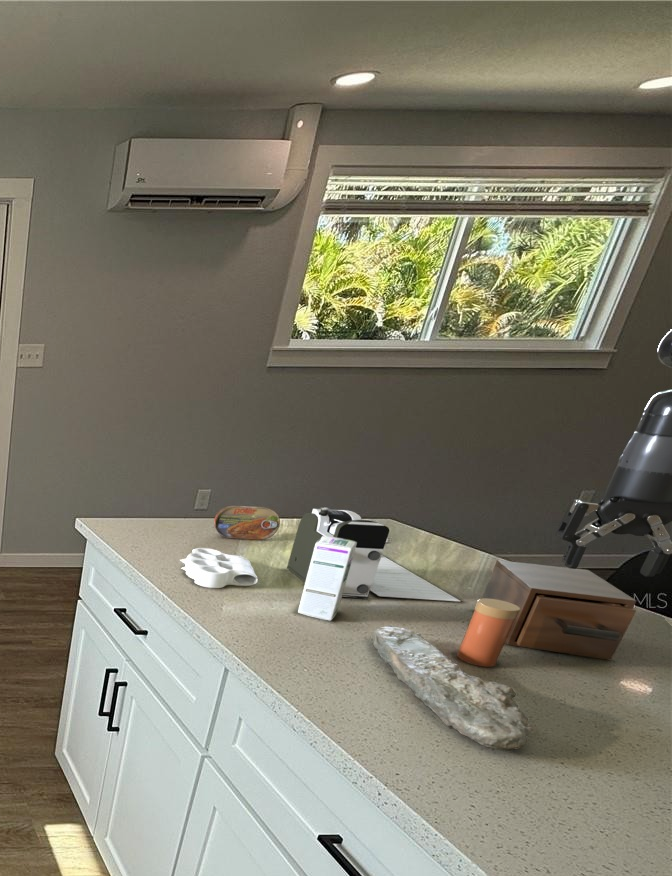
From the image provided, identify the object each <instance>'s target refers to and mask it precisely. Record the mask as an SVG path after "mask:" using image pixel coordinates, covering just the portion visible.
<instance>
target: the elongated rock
mask: <svg viewBox="0 0 672 876" xmlns="http://www.w3.org/2000/svg"><path fill="white" fill-rule="evenodd" d="M369 639H370V641H371V642H372V644H373V647H374V649H376V650H377V653H378V654H379V656H380V658H382V659H383V661H384V663H386V664H387V665H389V666H390V667H391V669H392V670H393V673H394V674H395V675H396V677H397V680H399V681H401V682H403V683H404V684H406V685H407V686H408V688H409V689H411V691H412V692H414V693H415V694H414V695H415V697H416V698H418V699H419V700H420V701H422V702H423V704H424V705H425V706H426V707H428V708H429V709H430V710H432V712H433V713H435V715H436V716H437V717H439V719H440V720H441V721H442V722H443V724H444V725H445V726H447V727H452V728H453V729H455V730H456V731H458V733H459V734H461V735H463V736H465V737H468V738H469V739H471V740H472V741H474V742H476V743H478V744H480V745H481V746H485V747H487V748H492V749H499V750H515V749H518V750H519V748H523V747H525V744H526V742H527V737H529V735H530V733H532V727H531V725H530V723H529V720H530V718H529V716H527V715H526V713H524V711H523V709H521V708H520V707H519V705H518V704H517V703H516V701H515V699H514V698H515V697H516V696H517V692H516V691H515V689H514V688H513V687H511V686H509V685H505V684H501V683H498V682H494V681H486V680H485V679H483V678H481V677H478V676H475V675H469V674H467V673H465V669H464V670H463V669H462V668H461V667H460V665H458V664H457V663H456V662H454V661H453V660H451V659H450V658H449V656H447V655H446V654H445V653H443V652H442V651H440V650H439V649H438V648H437V647H436V646H434V645H432V644H431V643H430V642H429V641H427V640H426V639H425V638H424V636H422V634H421V633H415V631H413V630H411V629H406V628H404V627H395V626H393V625H388V626H381V627H377V628H376V629H375V630H373V631H372V633H371V635H370V638H369Z"/></svg>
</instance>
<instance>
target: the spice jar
mask: <svg viewBox="0 0 672 876" xmlns="http://www.w3.org/2000/svg"><path fill="white" fill-rule="evenodd" d="M519 611H520V608H519V607H518V606H517V605H514V604H512V603H509V602H506V601H502V600H496V599H487V598H484V599H481V598H479V599H477V601H476V603H475V606H474V611H473V613H472V616H471V618H470V621H469V622H468V623H469V624H468V627H467V628H466V631H465V633H464V636H463V638H462V641H461V644H460V646H459V649H458V650H457V654H456V657H457V658H458V659H459V660H461V661H463V662H465V663H467V664H471V665H475V666H479V667H487V668H488V667H489V668H490V667H494V666H496V664H497V661H498V659H499V657H500V655H501V652H502V651H503V648H504V645H505V644H506V643H505V641H506V639H507V636H508V634H509V632H510V629H511V627H512V625H513V622H514V620H515V618H516V617H517V615H518V613H519Z"/></svg>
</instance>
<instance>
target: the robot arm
mask: <svg viewBox="0 0 672 876" xmlns="http://www.w3.org/2000/svg"><path fill="white" fill-rule="evenodd" d="M657 358H658V360H659V361H660V363H661V364H662V365H664V366H666V367H668V368H671V369H672V329H670V331H668V332H667V333H666V335H664V337H663V338H662V339H661V341H660V343H659V345H658V348H657ZM593 512H595V514H596V516H597V517H596V518H595V519H593V520H592V521H590V522H588V523H587V524H585V525H584V526H583V528H582V529H579V527H580V525H581V523H582V521H583V519H584V518H585V517H586V518H587V517H588V516H590V515H591V513H593ZM671 522H672V389H667V390H662V391H659V392H657V393H656V394H654V395H652V397H651V398H650V400H649V401H648V402H647V404H646V406H645V407H644V411H643V413H642V414H641V417H640V420H639V422H638V424H637V427H636V429H635V431H634V432H633V435H632V436H631V438H630V440H628V441H627V444H626V446H625V448H624V449H623V452H622V454H621V455H620V457H619V458H618V463H617V465H616V468H615V470H614V472H613V474H612V477H611V479H610V481H609V483H608V485H607V487H606V490H605V492H604V496H603V498H602V499H601V500H600V501H599V502H598V503H594V502H585V501H583V500H581V499H573V500H572V501H570V503H569V505H568V507H567V509H566V511H565V513H564V515H563V517H562V519H561V521H560V523H559V525H558V527H557V529H556V531H555V536H557V537H558V538H560V539H562V540H563V541H565V542H568V544H567V546H566V549H565V551H564V553H563V555H562V557H561V562H562V563H563V564H564V566H565V567H566V568H571V569H578V568H579V565H580V563H581V560H582V558H583V556H584V555H585V551H586V549H587V547H586V546H587V545H588V544H590V543H591V542H593V541H594V540H596V539H598V538H603V537H605V536H606V535H608V534H610V533H612V534H614V535H633V536H636V537H644V536H646V537H647V538H648V539H649V541H650V542H651V544H652V546H653V548H654V549H649V551H648V554H647V555H646V557H645V560H644V561H643V564H642V566H641V568H640V570H639V573H640V574H641V575H642V576H644V577H647V578H654V577H655V576H656V575H659V574H660V573H662V572H663V570H664V569H665V566H666V564H667V562H668V561H669V558H670V556H671V555H672V540H671V536H670V534H669V532H668V531H667V529H666V527H665V526H666V525H668V524H669V523H671ZM578 529H579V530H578ZM577 530H578V531H577Z"/></svg>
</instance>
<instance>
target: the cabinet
mask: <svg viewBox="0 0 672 876" xmlns="http://www.w3.org/2000/svg"><path fill="white" fill-rule="evenodd" d="M536 593H539V594H547V595H555V596H563V597H571V598H579V599H587V600H596V601H604V602H612V603H619V604H620V605H621V606H623V607H631V608H633V609H634V607H635V605H636V603H637V600H636V599H634V598H633V597H631V596H630V595H628V594H626V593H625V592H623V591H622V590H621V589H619V588H617V587H616V586H614V585H613V584H612V583H610V582H608V581H606V580H605V579H604V578H602V577H600V576H599V575H597V574H596V573H594V572H592V571H591V570H589V569H583V568H576V569H571V568H568V567H566V566H565V567H564V566H554V565H546V564H536V563H528V562H519V561H508V560H500V559H497V560H496V562H495V564H494V566H493V569H492V571H491V574H490V576H489V579H488V581H487V583H486V586H485V589H484V592H483V594H482V596H481V598H480V599H484V598H487V599H496V600H502V601H506V602H509V603H512V604H514V605H517V606H518V607H519V608H520V611H519V613H518V615H517V617H516V618H515V620H514V622H513V625H512V627H511V629H510V632H509V634H508V636H507V639H506V641H505V643H504V644H506V645H507V646H514V647H521V648H524V647H523V646H519V645H518V644H517V640H518V637H517V635H518V633H519V631H520V629H521V626H522V624H523V622H524V619H525V617H526V615H527V613H528V610H529V608H530V606H531V603H532V601H533V599H534V597H535V594H536ZM526 648H528V649H530V648H529V647H526ZM533 649H534V650H537V649H536V648H532V650H533ZM539 650H541V651H544V650H543V649H539ZM547 651H548V652H550V651H549V650H546V652H547ZM553 652H554V653H557V652H556V651H552V653H553ZM559 653H560V654H564V653H563V652H559ZM566 654H568V655H570V654H569V653H566ZM572 655H573V656H577V655H576V654H572ZM579 656H580V657H584V656H583V655H579ZM586 657H587V658H590V657H589V656H586ZM592 658H594V659H597V658H596V657H592ZM599 659H601V660H604V659H603V658H599Z"/></svg>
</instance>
